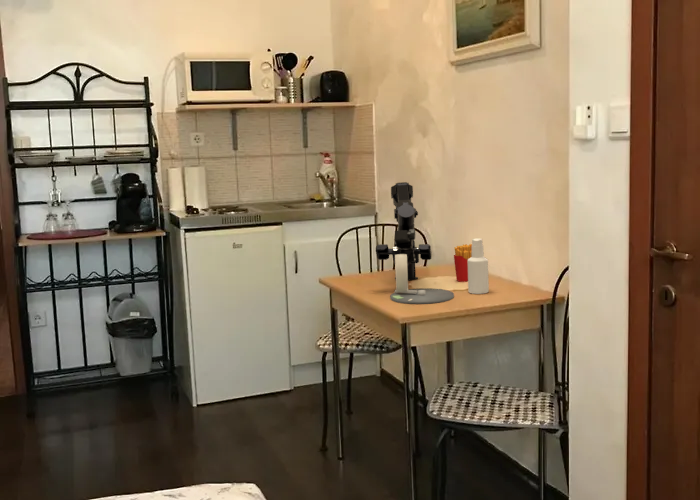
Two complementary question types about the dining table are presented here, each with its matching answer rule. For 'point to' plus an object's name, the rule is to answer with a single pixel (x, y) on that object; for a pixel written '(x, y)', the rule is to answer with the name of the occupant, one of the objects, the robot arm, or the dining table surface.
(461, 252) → the french fries
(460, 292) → the dining table surface
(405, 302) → the grey round platter
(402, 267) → the tall cream cylinder
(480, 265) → the spray bottle
